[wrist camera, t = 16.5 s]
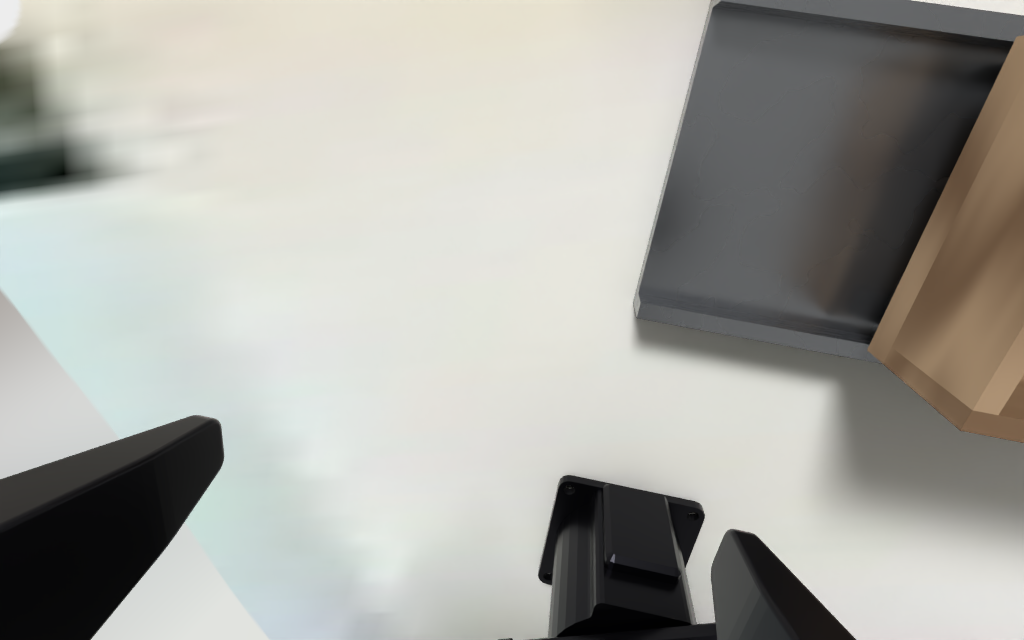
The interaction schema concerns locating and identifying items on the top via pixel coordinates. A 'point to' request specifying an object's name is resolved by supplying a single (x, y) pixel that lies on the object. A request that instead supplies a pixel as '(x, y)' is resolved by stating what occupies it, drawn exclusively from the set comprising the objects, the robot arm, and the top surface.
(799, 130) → the track
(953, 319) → the wooden drawer
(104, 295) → the top surface
